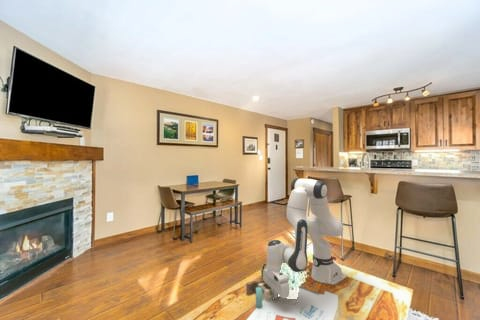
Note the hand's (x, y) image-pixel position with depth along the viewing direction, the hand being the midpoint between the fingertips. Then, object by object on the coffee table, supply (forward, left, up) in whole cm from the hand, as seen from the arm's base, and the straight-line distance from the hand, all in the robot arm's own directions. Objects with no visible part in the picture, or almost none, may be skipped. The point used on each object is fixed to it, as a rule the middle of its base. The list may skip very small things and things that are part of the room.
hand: (275, 297), depth 120 cm
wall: (0, -12, -2) cm, 12 cm away
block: (0, -6, -2) cm, 7 cm away
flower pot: (-8, -19, -2) cm, 21 cm away
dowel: (+10, 0, -2) cm, 10 cm away
